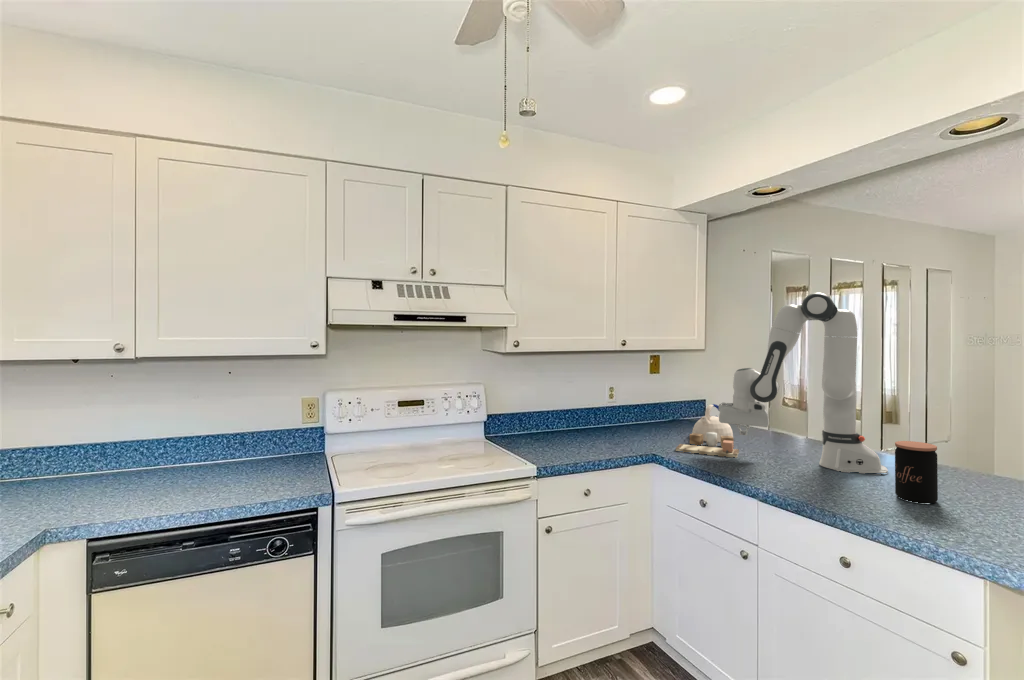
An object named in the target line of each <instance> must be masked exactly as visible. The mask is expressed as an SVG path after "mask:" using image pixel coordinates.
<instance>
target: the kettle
mask: <svg viewBox="0 0 1024 680" xmlns="http://www.w3.org/2000/svg"><path fill="white" fill-rule="evenodd" d="M713 407H714V408H716V410H717V411H718V412H720V411H719V405H718V404H715V403H710V404H709V405H707V407H706V409H705V412H704V414H705V415H703V416H701V418H700V419H698V420H697V421H696V422H695V424H694V425H693V428H692V432H691V434H692V433H697V434H703V442H706V433H707V432H715V433H717V443H721V436H732V437H733V438H734V433H733V429H732V427H731V425H730V424H727V423H720V422H719V415H711V410H712V409H713Z"/></svg>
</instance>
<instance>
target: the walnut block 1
mask: <svg viewBox="0 0 1024 680" xmlns="http://www.w3.org/2000/svg"><path fill="white" fill-rule="evenodd" d="M690 444H695V446H697V445H701V444H702V445H704V441H703V434H697V433H692V432H691V433H689V445H690ZM702 445H701V446H702Z"/></svg>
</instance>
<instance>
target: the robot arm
mask: <svg viewBox="0 0 1024 680" xmlns="http://www.w3.org/2000/svg"><path fill="white" fill-rule="evenodd" d="M807 321H820V322H822V323H823V326H824V337H823V338H824V341H823V363H822V375H821V376H822V377H821V378H822V379H821V388H822V391H823V407H822V408H823V410H822V411H823V413H822V415H823V416H822V417H823V418H822V419H823V421H822V422H823V428H822V429H823V430H822V431H821V432H822V433H821V443H822V450H821V457H820V460H819V462H818V464H819V466H821V467H824V468H827V469H831V470H834V471H837V472H839V471H841V472H840V473H850V472H859V473H858V474H865V473H887V472H888V473H889V470H888V468H887V467H886V466H884V465H882V463H881V459H880V457H879V455H878V453H876V452H875V451H874V450H873V449H871V448H870V447H868V446H867V445H866V444H864V443H863V442H865V440H866V437H864V436H863V435H861V434H860V433H858V432H857V383H856V382H857V359H858V357H857V354H858V353H857V351H858V325H857V320H856V315H855V314H854V312H852V311H851V310H848V309H843V308H842V309H840V308H838V307H837V305H836V304H835V303H834V301H833V300H832V298H831V297H830V296H829V295H827V294H826V293H822V292H813V293H810V294H808V295H807V296H806V297H804V299H803V300H802V303H800V304H797V305H796V304H785V305H783V306H781V307H780V308H779V310H778V312H777V314H776V315H775V317H774V320H773V322H772V325H771V329H770V331H769V335H768V343H767V353H766V357H765V360H764V363H763V365H762V369H761V371H760V372H759V371H757V370H756V369H754V368H753V367H744V368H739V369H737V370H735V372H734V374H733V380H732V387H733V395H732V402H721V403H718V404H719V405H718V406H719V411H718V412H719V414H718V417H719V422H720V423H727V424H729V425H730V424H731V425H736V428H737V430H738V431H739V435H740V436H747V435H748V431H749V429H750V428H751V426H752V427H761V428H767V427H769V425H770V420H769V413H768V411H767V410H766V408H767V405H766V404H765V403H770V402H772V401H773V400H774V399H775V398H776V396H777V394H778V392H779V390H780V384H779V382H778V381H777V379H778V376H779V373H780V370H781V366H782V364H783V362H784V360H785V358H787V356H788V355H789V354H790V352H791V351H792V350H793V349H794V347H795V346H796V344H797V342H798V341H799V340H798V339H799V338H800V336H801V335H800V334H801V332H802V329H803V326H804V325H805V323H806V322H807ZM742 426H745V427H746V429H745V430H742V429H741V427H742ZM888 473H887V474H888Z"/></svg>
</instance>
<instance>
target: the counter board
mask: <svg viewBox="0 0 1024 680" xmlns="http://www.w3.org/2000/svg"><path fill="white" fill-rule="evenodd" d="M676 451H683V452H682V453H684V452H691V453H690V454H694V453H699V454H698V455H704V454H707V455H706V456H714V455H718V456H717V457H724V456H726V457H727V458H733V457H735V458H736V459H737V458H738V455H739V453H740V449H738V448H734V449H733V452H726V451H723V448H722V447H717V446H707V445H706V446H705V445H704V446H703V445H701V446H697V445H690V444H685V443H679V444H678V445H677V446H676V447H675V452H676Z"/></svg>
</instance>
